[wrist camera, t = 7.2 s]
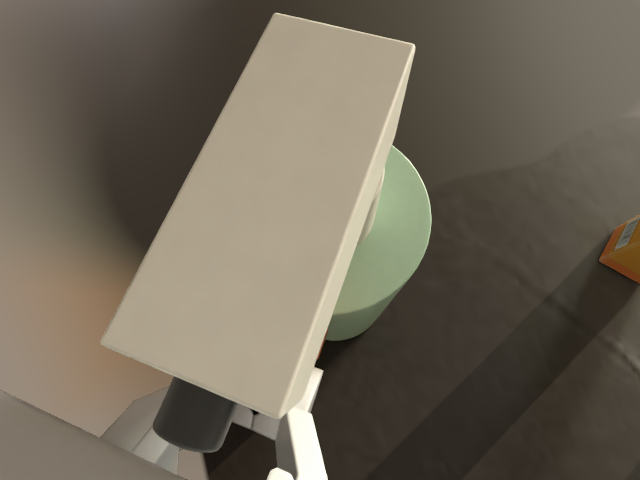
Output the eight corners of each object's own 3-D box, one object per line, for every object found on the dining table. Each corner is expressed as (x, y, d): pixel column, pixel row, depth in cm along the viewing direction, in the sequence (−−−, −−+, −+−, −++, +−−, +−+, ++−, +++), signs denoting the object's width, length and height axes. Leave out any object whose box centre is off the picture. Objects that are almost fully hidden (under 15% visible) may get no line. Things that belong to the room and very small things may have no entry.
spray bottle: (352, 402, 23) (401, 573, 4) (253, 362, 24) (-50, 361, 5) (396, 260, 26) (543, -10, 7) (306, 230, 27) (226, -71, 8)
